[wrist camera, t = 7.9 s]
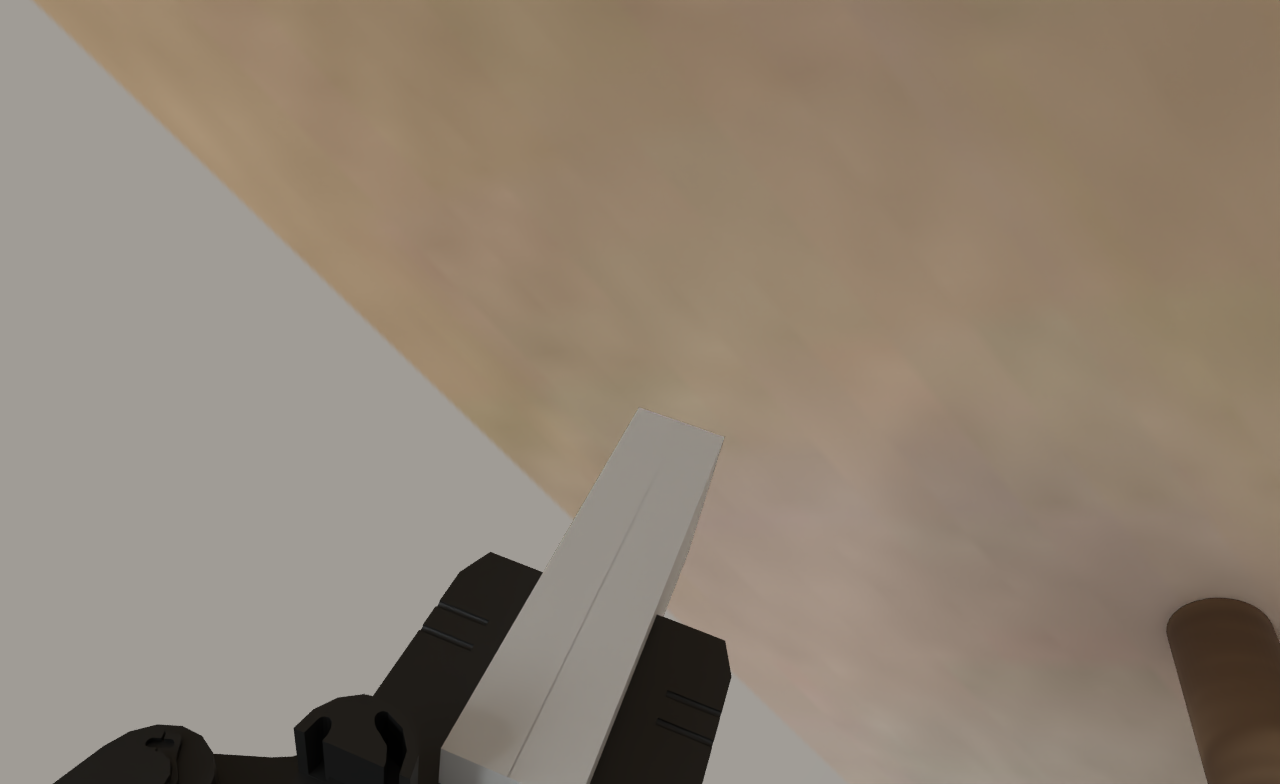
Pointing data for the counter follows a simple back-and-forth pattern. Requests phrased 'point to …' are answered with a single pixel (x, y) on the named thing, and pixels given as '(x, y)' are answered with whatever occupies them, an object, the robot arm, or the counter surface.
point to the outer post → (1230, 688)
